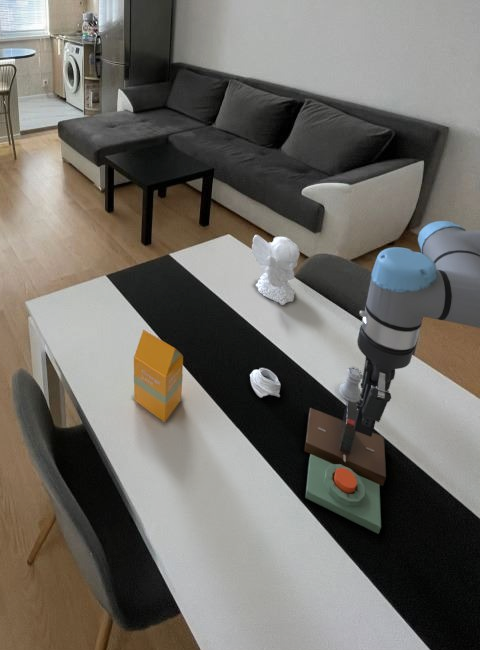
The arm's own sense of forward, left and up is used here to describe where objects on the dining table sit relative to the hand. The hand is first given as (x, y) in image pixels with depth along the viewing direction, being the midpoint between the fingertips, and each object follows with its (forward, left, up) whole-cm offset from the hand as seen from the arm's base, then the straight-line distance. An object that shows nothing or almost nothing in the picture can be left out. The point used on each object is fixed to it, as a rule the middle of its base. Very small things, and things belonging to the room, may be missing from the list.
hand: (362, 430), depth 80 cm
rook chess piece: (0, -22, -16) cm, 27 cm away
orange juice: (+40, +1, -16) cm, 43 cm away
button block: (+1, +3, -16) cm, 16 cm away
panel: (+1, -7, -16) cm, 17 cm away
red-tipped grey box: (+1, -7, -12) cm, 14 cm away
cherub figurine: (+21, -51, -16) cm, 57 cm away
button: (+1, +3, -12) cm, 12 cm away
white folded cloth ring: (+18, -15, -16) cm, 28 cm away
